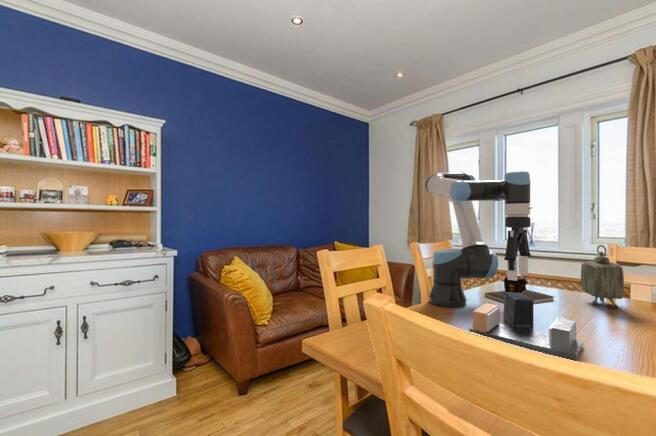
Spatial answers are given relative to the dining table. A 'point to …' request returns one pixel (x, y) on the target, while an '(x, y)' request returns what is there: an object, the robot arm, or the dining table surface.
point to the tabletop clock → (602, 278)
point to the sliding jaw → (486, 317)
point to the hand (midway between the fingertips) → (518, 277)
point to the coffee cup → (515, 285)
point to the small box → (518, 310)
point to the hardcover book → (531, 294)
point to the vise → (541, 338)
